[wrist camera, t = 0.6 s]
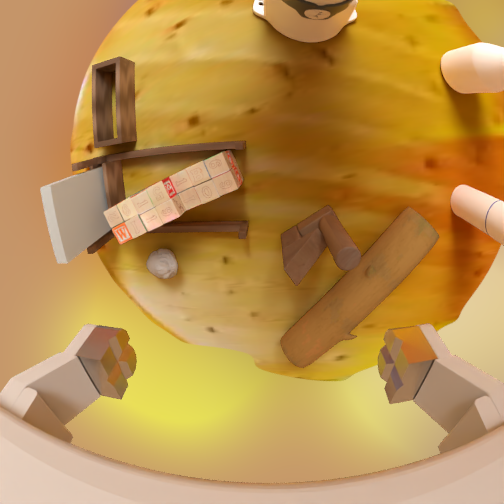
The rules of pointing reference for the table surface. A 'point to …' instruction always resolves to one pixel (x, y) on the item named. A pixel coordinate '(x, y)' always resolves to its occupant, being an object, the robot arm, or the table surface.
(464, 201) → the cylindrical container
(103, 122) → the holder
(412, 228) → the log
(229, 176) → the stack of blocks
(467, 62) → the wine bottle
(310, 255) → the brown wedge with rod
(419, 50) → the table surface
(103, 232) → the sheet
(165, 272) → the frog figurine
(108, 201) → the rack
